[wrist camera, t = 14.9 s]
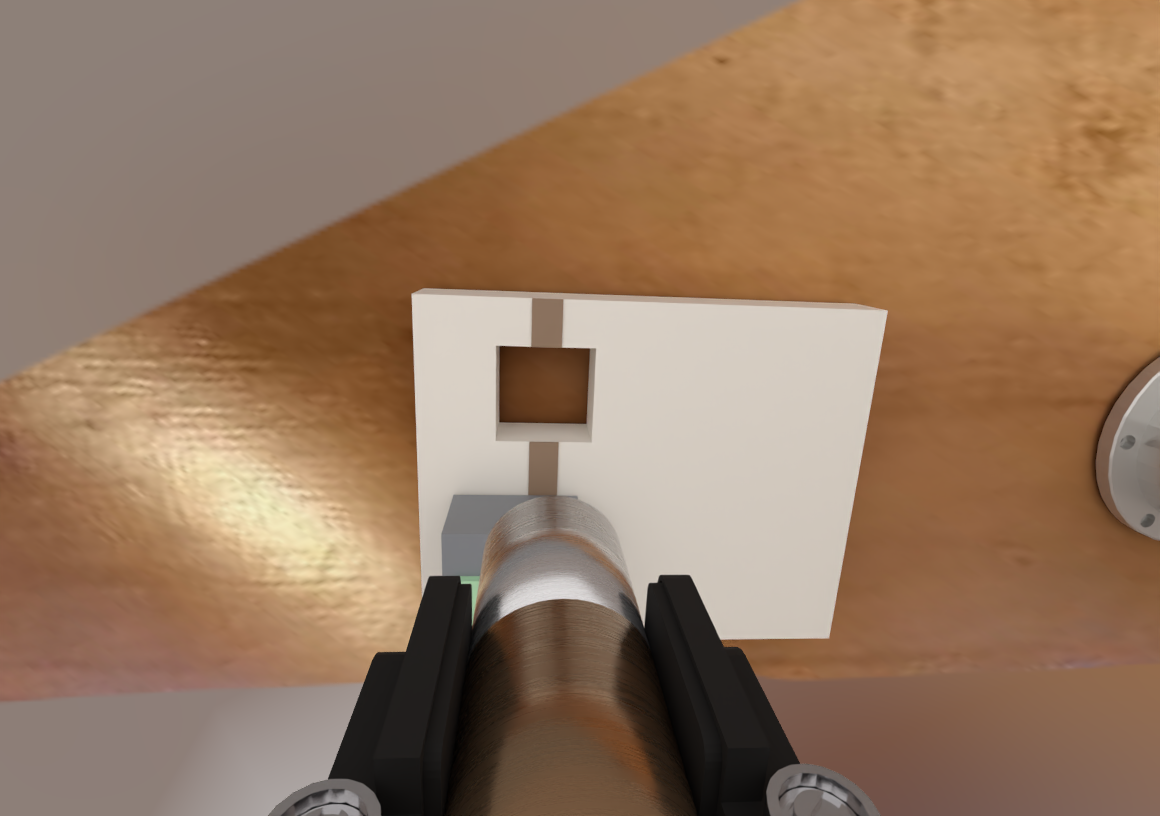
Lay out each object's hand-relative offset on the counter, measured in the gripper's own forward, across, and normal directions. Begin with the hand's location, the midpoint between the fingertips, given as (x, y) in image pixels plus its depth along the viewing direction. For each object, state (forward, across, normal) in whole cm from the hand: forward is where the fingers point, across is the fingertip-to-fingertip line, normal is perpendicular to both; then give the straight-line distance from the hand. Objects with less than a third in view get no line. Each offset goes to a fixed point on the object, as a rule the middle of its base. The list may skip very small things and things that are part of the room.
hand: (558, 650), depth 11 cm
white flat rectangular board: (+21, -5, +4) cm, 22 cm away
